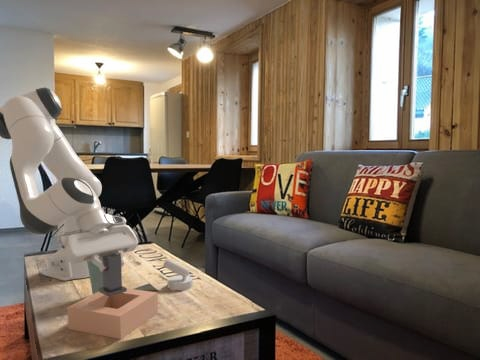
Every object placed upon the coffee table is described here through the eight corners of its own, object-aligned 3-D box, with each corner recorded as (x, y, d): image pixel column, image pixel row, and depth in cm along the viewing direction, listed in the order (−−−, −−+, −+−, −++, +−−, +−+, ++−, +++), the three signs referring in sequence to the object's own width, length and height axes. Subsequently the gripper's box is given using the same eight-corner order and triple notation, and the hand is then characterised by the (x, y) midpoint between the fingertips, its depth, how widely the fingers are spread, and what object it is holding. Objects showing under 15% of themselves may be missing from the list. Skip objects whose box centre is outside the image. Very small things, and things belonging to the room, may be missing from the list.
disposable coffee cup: (86, 292, 132) (84, 248, 130) (120, 288, 136) (118, 245, 135) (88, 304, 122) (86, 256, 121) (124, 298, 126) (122, 252, 125)
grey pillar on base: (98, 291, 110) (97, 256, 109) (116, 286, 113) (115, 252, 113) (108, 296, 106) (107, 260, 105) (126, 291, 110) (125, 256, 109)
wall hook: (168, 255, 142) (195, 256, 140) (169, 281, 143) (195, 282, 141) (159, 262, 134) (187, 263, 132) (159, 289, 134) (187, 291, 132)
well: (68, 328, 106) (67, 307, 105) (110, 304, 122) (109, 285, 121) (121, 339, 100) (120, 316, 99) (157, 312, 116) (157, 292, 115)
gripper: (61, 226, 105) (79, 270, 99) (129, 216, 120) (148, 254, 114) (55, 240, 109) (72, 283, 103) (122, 229, 124) (140, 266, 118)
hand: (113, 267), depth 109 cm, fingers closed on grey pillar on base, 4 cm apart
